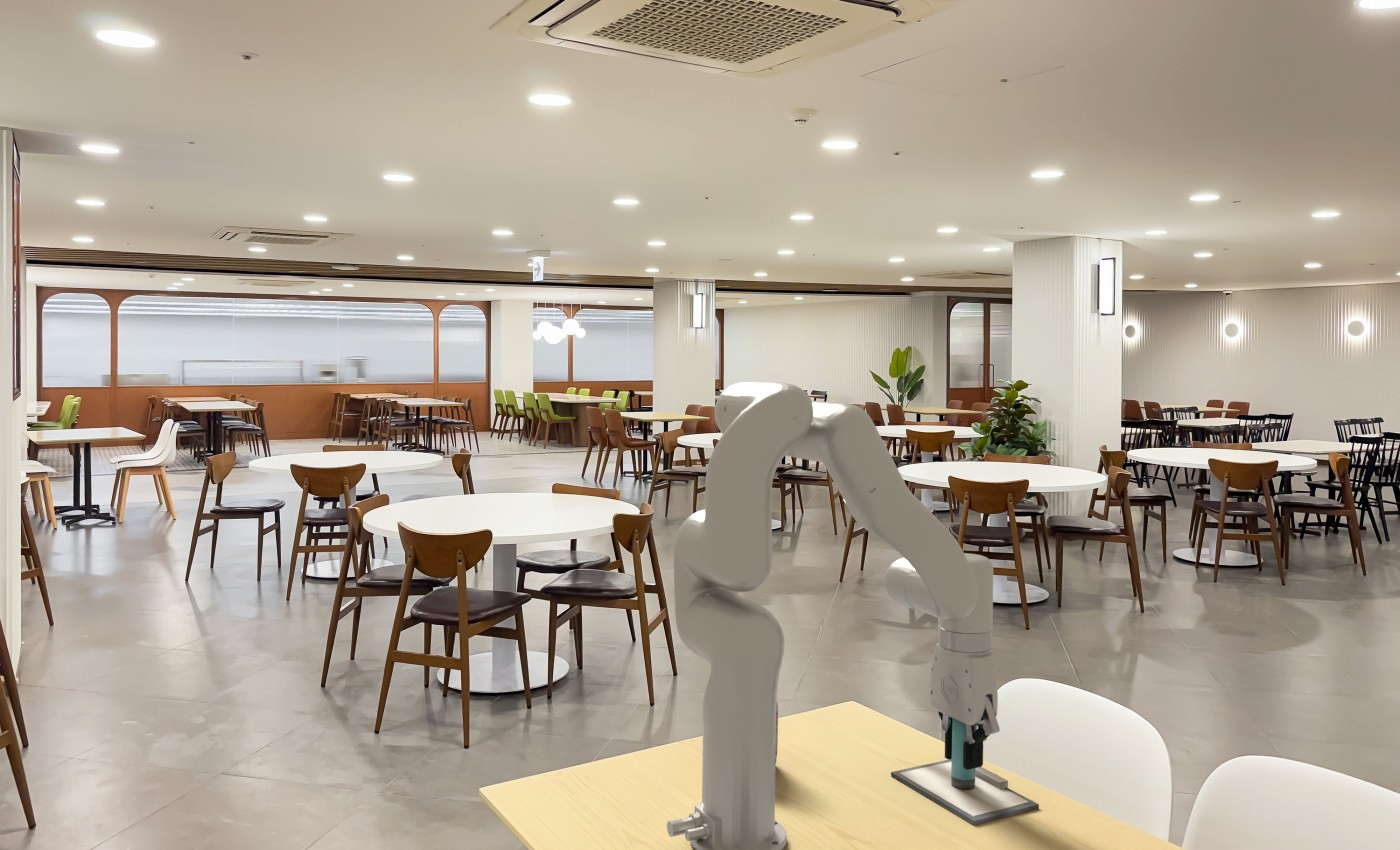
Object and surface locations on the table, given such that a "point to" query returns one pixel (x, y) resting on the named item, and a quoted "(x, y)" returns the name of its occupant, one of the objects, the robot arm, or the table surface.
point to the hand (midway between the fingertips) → (963, 761)
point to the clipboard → (966, 792)
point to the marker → (960, 759)
